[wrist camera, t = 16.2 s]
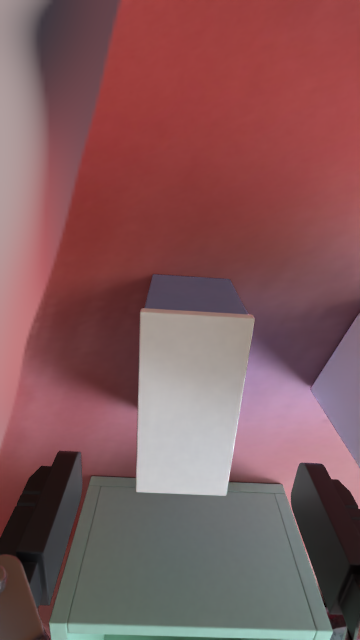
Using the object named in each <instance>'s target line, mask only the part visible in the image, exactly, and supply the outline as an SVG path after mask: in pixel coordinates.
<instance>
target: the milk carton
mask: <svg viewBox="0 0 360 640" xmlns="http://www.w3.org/2000/svg"><path fill="white" fill-rule="evenodd" d="M310 390H311V392H312V393H313V395H314V396H315V398H316V400H317V401H318V403H319V404H320V406H321V407H322V409H323V411H324V412H325V414H326V415H327V417H328V418H329V420H330V422H331V423H332V425H333V426H334V428H335V430H336V431H337V433H338V434H339V436H340V437H341V439H342V441H343V442H344V444H345V445H346V447H347V448H348V450H349V452H350V453H351V455H352V456H353V458H354V459H355V461H356V463H357V464H358V466H359V467H360V313H359V314H358V316H357V317H356V319H355V320H354V322H353V324H352V325H351V327H350V328H349V330H348V331H347V333H346V334H345V336H344V337H343V339H342V341H341V342H340V344H339V345H338V347H337V348H336V350H335V351H334V353H333V354H332V356H331V358H330V359H329V361H328V362H327V364H326V365H325V367H324V368H323V370H322V372H321V373H320V375H319V376H318V378H317V379H316V381H315V382H314V384H313V386H312V387H311V389H310Z"/></svg>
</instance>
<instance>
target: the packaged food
mask: <svg viewBox="0 0 360 640" xmlns="http://www.w3.org/2000/svg"><path fill="white" fill-rule="evenodd" d="M325 609H326V612H327V615H328V618H329V621H330V624H331V627H332V630H333V633H332V635H331V638H330V640H343V635H344V631H345V628H346V626H347V625H346V622H345V620H344V617H343V615H338V614H329V611H328V609H327V607H325Z"/></svg>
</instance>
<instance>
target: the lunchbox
mask: <svg viewBox="0 0 360 640" xmlns="http://www.w3.org/2000/svg"><path fill="white" fill-rule="evenodd" d="M49 627H50V634H51V640H330V638H331V635H332V633H333V630H332V627H331V624H330V621H329V618H328V615H327V612H326V609H325V607H324V604H323V601H322V598H321V595H320V592H319V589H318V586H317V583H316V580H315V578H314V575H313V572H312V569H311V566H310V563H309V560H308V557H307V554H306V552H305V549H304V546H303V543H302V540H301V537H300V534H299V531H298V528H297V525H296V523H295V520H294V517H293V514H292V511H291V508H290V505H289V502H288V499H287V496H286V493H285V491H284V488H283V485H282V484H264V483H241V482H228V487H227V493H226V496H218V495H194V494H171V493H147V492H136V478H126V477H103V476H91V479H90V483H89V486H88V489H87V493H86V496H85V500H84V503H83V507H82V510H81V514H80V517H79V521H78V524H77V528H76V531H75V535H74V538H73V542H72V545H71V548H70V552H69V555H68V559H67V562H66V566H65V569H64V573H63V576H62V580H61V583H60V587H59V590H58V594H57V597H56V600H55V604H54V607H53V611H52V614H51V618H50V621H49Z"/></svg>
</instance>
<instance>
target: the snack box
mask: <svg viewBox="0 0 360 640" xmlns="http://www.w3.org/2000/svg"><path fill="white" fill-rule="evenodd" d="M254 321H255V318H254V317H253V315H248V313H247V311H246V309H245V307H244V305H243V303H242V301H241V300H240V298H239V296H238V294H237V292H236V290H235V288H234V286H233V284H232V282H231V281H230V279H221V278H205V277H189V276H173V275H157V274H153V276H152V280H151V284H150V288H149V291H148V295H147V299H146V303H145V307H144V308H141V311H140V335H139V377H138V418H137V460H136V492H147V493H171V494H194V495H218V496H226V493H227V487H228V481H229V475H230V469H231V463H232V456H233V450H234V444H235V438H236V432H237V426H238V420H239V413H240V407H241V401H242V395H243V389H244V383H245V376H246V370H247V364H248V358H249V352H250V346H251V340H252V333H253V327H254Z"/></svg>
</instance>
